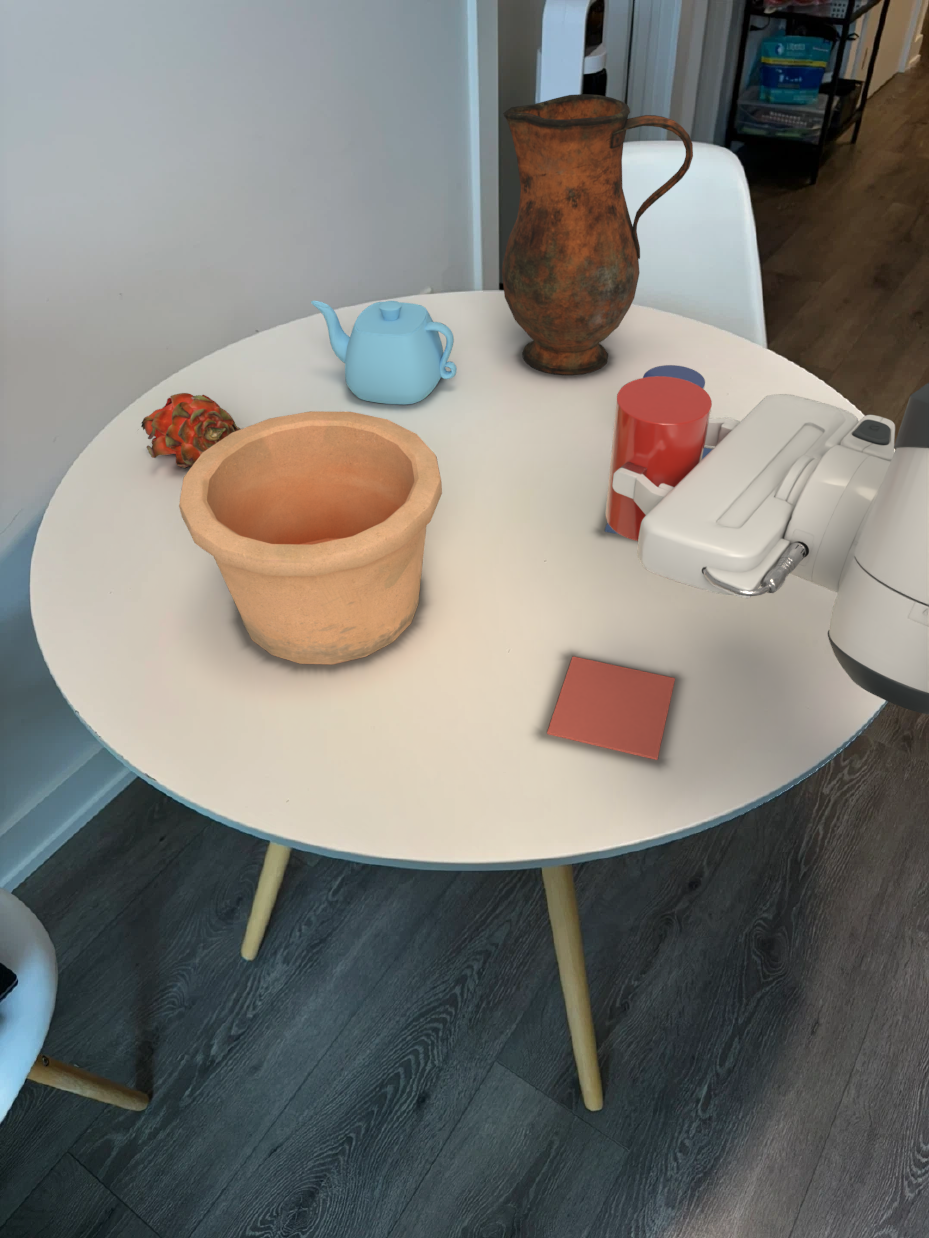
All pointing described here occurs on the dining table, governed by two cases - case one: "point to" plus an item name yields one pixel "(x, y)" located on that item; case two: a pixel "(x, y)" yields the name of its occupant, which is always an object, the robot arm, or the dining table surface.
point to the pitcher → (574, 228)
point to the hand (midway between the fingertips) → (646, 449)
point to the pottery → (317, 529)
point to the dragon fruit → (187, 427)
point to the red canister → (655, 439)
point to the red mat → (613, 707)
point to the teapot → (391, 351)
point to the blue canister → (677, 374)
